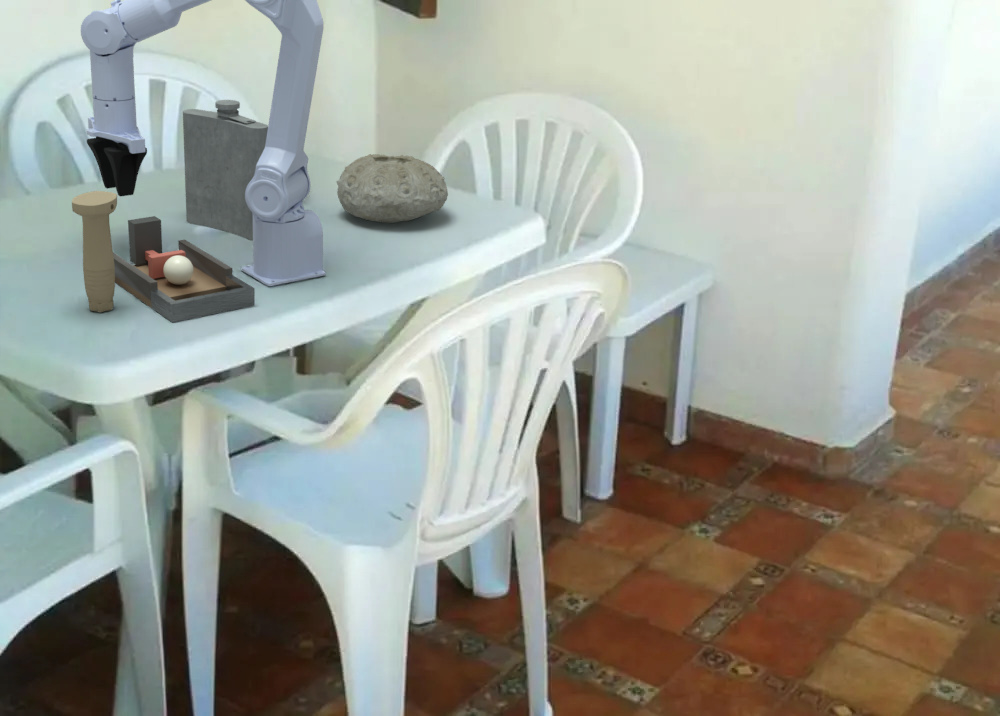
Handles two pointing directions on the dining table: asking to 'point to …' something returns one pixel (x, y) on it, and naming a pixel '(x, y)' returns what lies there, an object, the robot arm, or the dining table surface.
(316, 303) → the dining table surface
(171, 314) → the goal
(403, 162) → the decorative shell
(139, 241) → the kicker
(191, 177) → the hip flask
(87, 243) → the handle
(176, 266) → the ball
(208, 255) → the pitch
